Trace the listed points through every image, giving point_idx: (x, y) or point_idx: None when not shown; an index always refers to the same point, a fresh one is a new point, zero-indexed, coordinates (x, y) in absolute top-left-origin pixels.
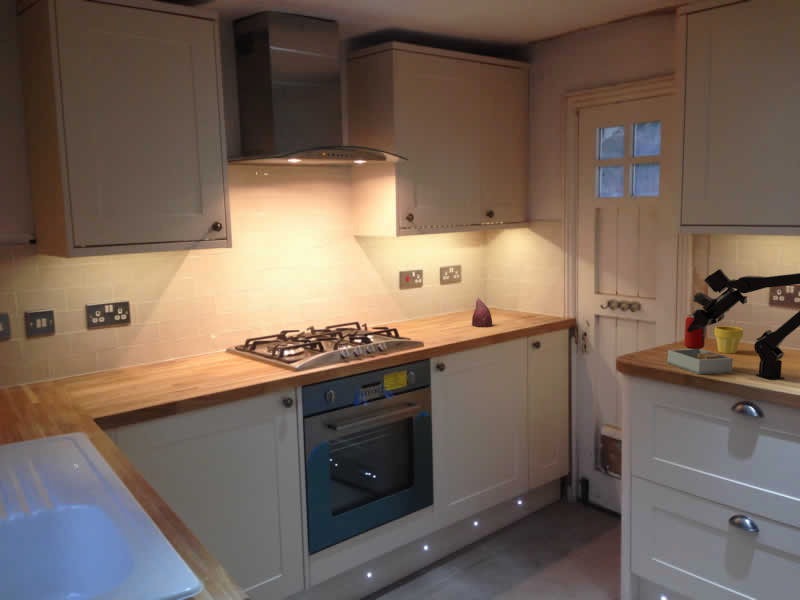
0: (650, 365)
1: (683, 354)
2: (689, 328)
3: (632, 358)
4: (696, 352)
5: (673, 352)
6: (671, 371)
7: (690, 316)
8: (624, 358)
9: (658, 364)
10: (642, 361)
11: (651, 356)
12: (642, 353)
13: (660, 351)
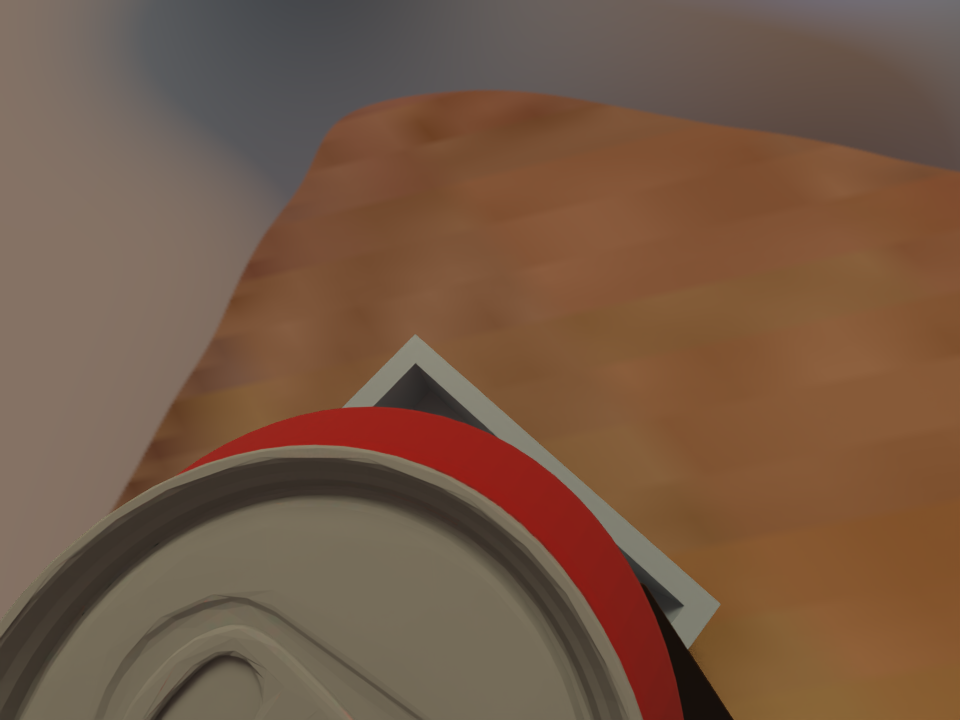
0: (297, 286)
1: None
2: None
3: (469, 138)
4: (647, 576)
5: (356, 397)
6: (155, 459)
7: (15, 614)
8: (438, 101)
9: (362, 324)
10: (406, 212)
11: (626, 218)
12: (692, 145)
13: (873, 225)
